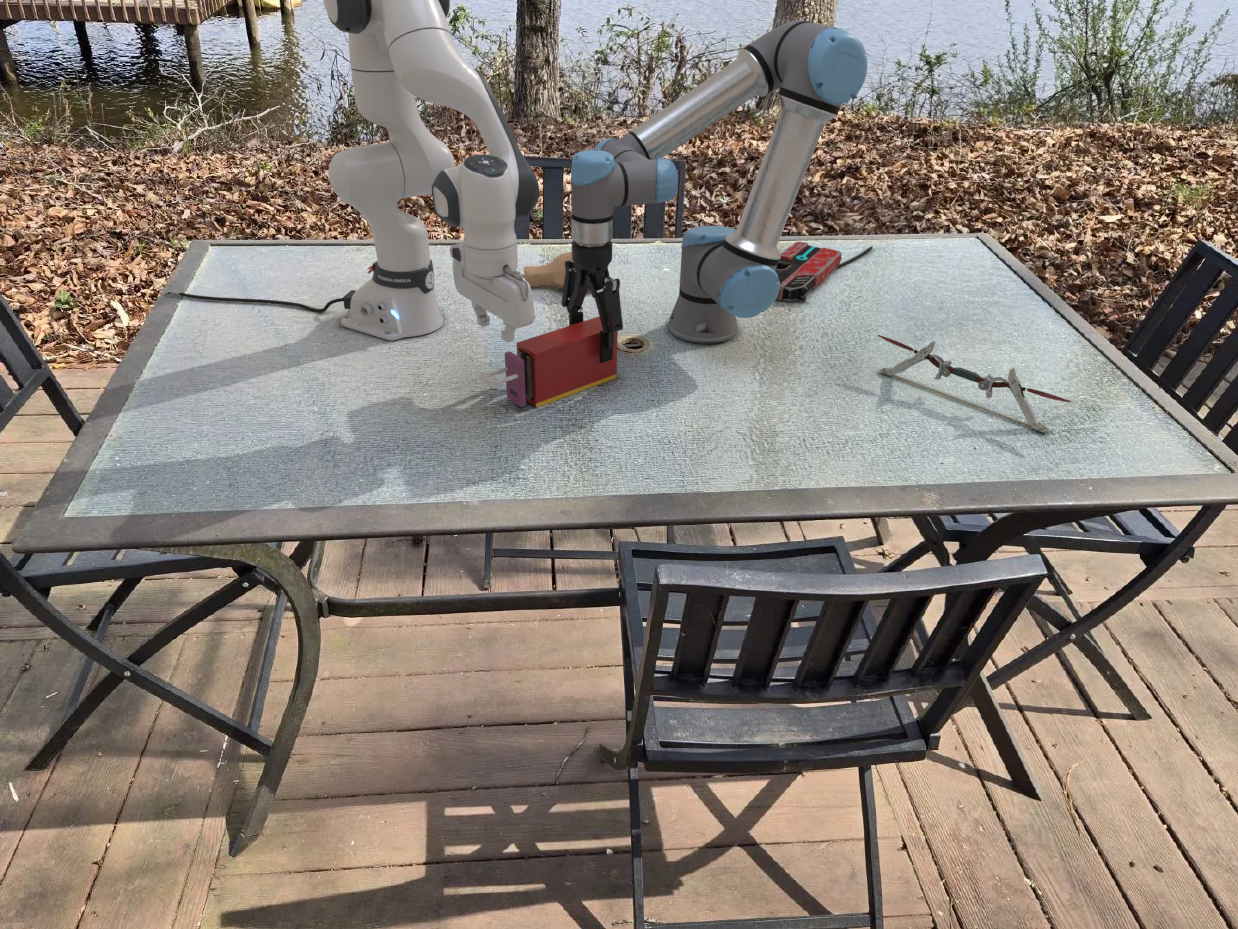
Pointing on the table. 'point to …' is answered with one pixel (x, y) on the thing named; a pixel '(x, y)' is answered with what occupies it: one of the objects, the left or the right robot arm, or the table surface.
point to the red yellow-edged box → (568, 361)
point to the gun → (804, 269)
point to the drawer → (514, 377)
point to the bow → (983, 384)
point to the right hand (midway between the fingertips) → (591, 351)
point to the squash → (548, 272)
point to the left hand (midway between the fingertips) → (495, 332)
